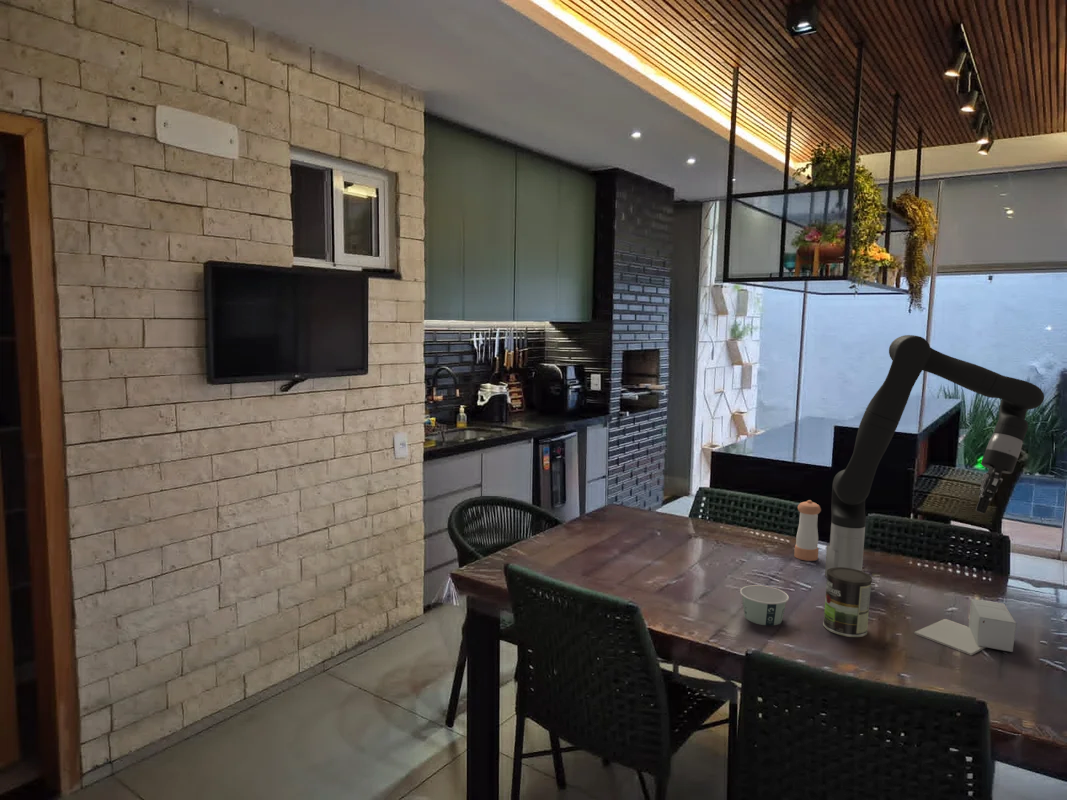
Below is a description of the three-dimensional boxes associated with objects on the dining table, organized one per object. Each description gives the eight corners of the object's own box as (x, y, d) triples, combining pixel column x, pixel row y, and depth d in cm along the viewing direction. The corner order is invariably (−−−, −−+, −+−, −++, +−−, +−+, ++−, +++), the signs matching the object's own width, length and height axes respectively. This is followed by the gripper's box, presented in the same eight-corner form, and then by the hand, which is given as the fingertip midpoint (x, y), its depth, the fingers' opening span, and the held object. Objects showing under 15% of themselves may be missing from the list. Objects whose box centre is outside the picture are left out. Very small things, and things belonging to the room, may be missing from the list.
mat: (971, 655, 159) (971, 653, 159) (914, 633, 170) (914, 631, 169) (1000, 640, 167) (1000, 638, 167) (944, 620, 178) (945, 618, 178)
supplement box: (967, 625, 174) (976, 646, 162) (971, 597, 173) (979, 616, 161) (1002, 632, 171) (1013, 653, 159) (1005, 603, 170) (1017, 622, 158)
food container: (733, 607, 183) (734, 584, 183) (778, 609, 183) (780, 585, 182) (745, 627, 172) (747, 602, 171) (794, 628, 171) (795, 603, 170)
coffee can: (836, 638, 166) (840, 582, 165) (815, 620, 177) (819, 567, 175) (876, 637, 167) (881, 581, 166) (853, 619, 177) (857, 566, 176)
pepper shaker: (821, 561, 222) (825, 503, 220) (798, 560, 222) (802, 502, 220) (812, 553, 229) (816, 497, 227) (791, 553, 229) (794, 497, 227)
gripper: (1023, 455, 180) (1001, 516, 179) (1012, 460, 192) (990, 518, 191) (991, 445, 183) (968, 505, 182) (981, 451, 195) (960, 508, 194)
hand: (980, 512), depth 187 cm, fingers closed
